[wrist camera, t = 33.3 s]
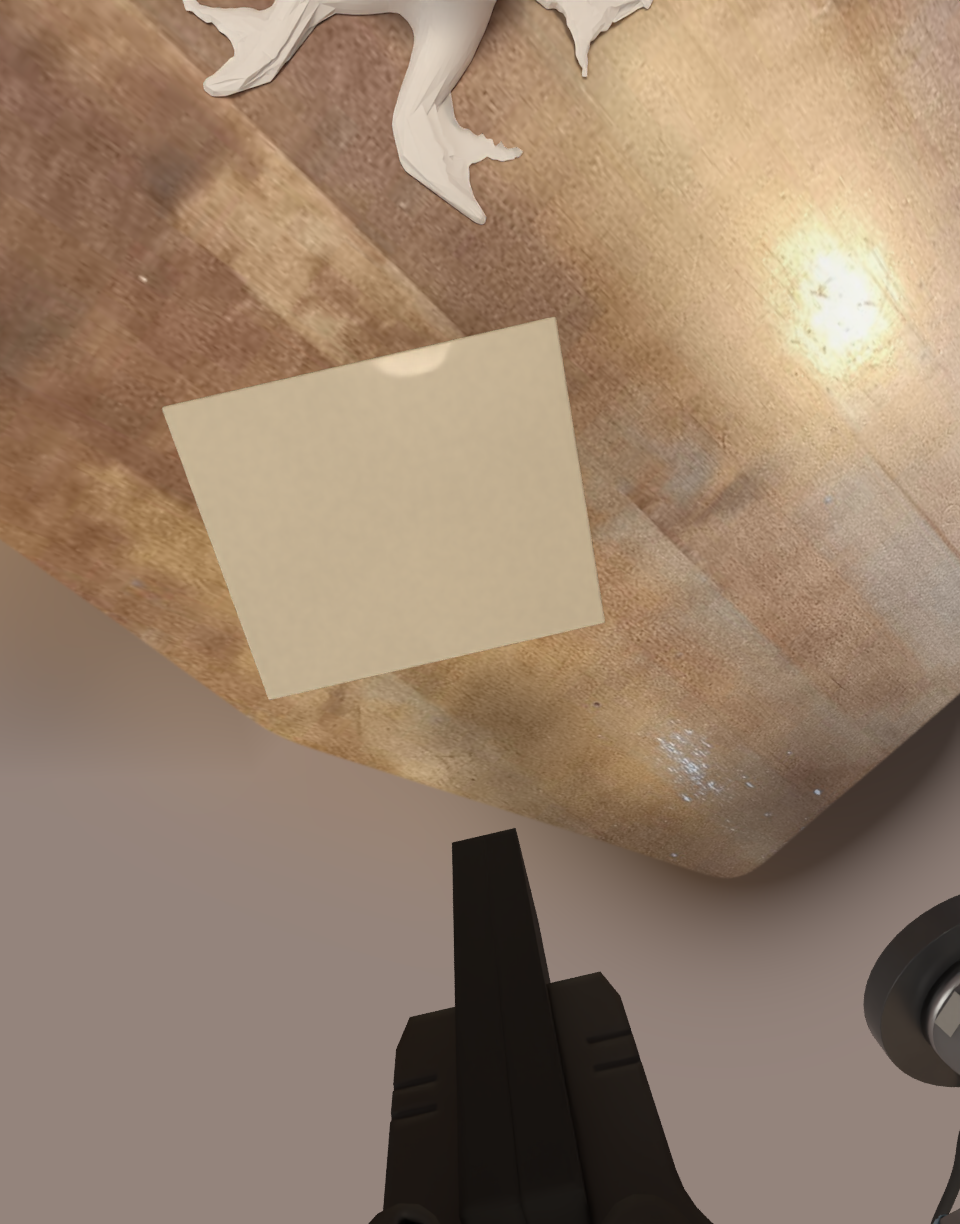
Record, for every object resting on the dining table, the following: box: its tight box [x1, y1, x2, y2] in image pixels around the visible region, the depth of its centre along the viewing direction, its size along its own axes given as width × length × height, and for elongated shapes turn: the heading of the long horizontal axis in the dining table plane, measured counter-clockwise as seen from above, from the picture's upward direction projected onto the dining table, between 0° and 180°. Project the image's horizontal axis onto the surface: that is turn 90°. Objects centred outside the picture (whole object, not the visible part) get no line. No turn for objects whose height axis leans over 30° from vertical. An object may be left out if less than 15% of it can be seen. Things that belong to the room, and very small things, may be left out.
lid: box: [162, 317, 605, 700], centre depth 24 cm, size 15×13×1 cm
